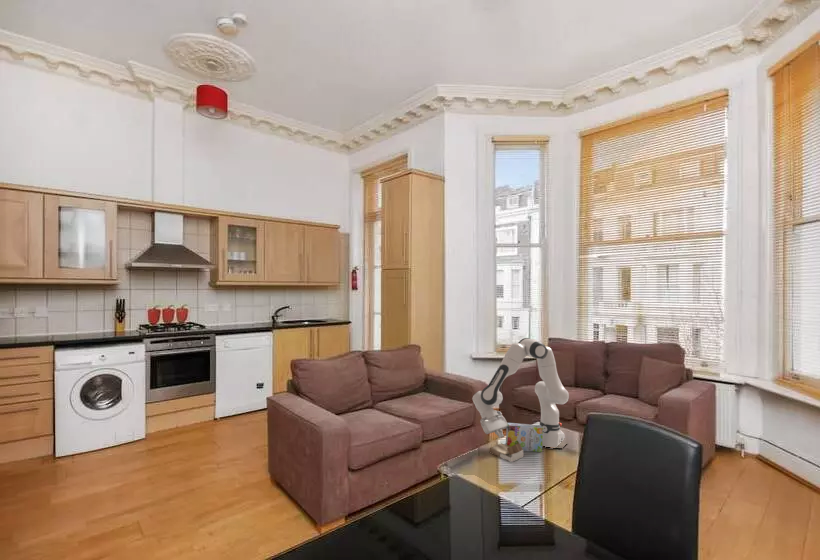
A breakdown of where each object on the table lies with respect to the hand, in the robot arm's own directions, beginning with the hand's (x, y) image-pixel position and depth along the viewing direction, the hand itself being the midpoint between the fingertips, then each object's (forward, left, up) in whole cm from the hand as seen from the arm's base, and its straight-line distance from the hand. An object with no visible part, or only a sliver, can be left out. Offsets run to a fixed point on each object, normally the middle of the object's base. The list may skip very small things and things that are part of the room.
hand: (501, 437), depth 247 cm
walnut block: (0, +7, -6) cm, 9 cm away
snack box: (-17, +5, -9) cm, 20 cm away
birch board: (0, +1, -9) cm, 9 cm away
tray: (0, +7, -9) cm, 12 cm away
